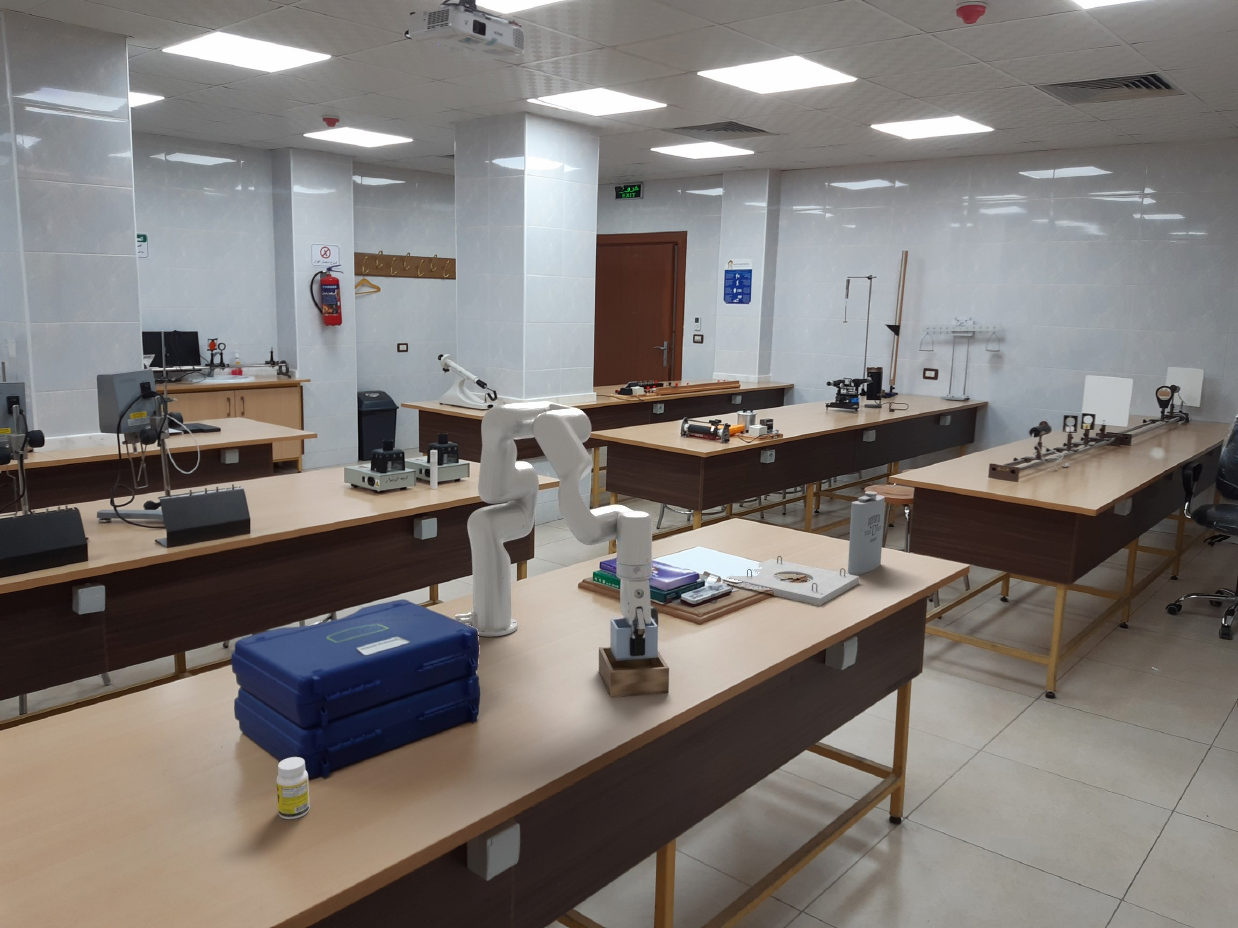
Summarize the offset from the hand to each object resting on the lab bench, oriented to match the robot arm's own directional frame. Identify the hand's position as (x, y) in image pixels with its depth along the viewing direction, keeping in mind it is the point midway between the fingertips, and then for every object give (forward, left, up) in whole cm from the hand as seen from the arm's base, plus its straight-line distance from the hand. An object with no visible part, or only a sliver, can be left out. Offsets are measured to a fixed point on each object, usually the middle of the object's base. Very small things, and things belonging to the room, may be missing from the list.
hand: (633, 648), depth 187 cm
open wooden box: (0, 0, -8) cm, 8 cm away
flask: (+92, +71, -8) cm, 117 cm away
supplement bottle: (-64, -39, -8) cm, 75 cm away
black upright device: (+6, +15, -8) cm, 18 cm away
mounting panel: (+63, +60, -8) cm, 87 cm away
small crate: (0, 0, -1) cm, 1 cm away
